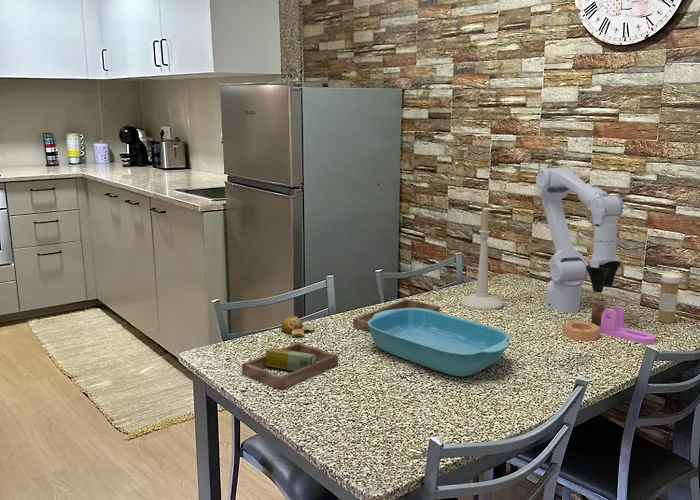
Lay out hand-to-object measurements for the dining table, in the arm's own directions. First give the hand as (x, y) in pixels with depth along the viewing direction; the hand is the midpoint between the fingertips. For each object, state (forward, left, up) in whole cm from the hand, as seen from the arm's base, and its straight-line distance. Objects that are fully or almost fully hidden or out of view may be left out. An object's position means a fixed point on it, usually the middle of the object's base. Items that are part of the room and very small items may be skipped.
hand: (602, 289), depth 175 cm
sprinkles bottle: (+13, +16, -10) cm, 23 cm away
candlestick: (-35, -3, -11) cm, 37 cm away
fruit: (-57, -57, -12) cm, 82 cm away
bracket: (+9, -4, -11) cm, 15 cm away
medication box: (-43, -77, -10) cm, 89 cm away
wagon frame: (-45, -33, -10) cm, 57 cm away
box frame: (-43, -77, -10) cm, 89 cm away
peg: (-1, +1, -10) cm, 10 cm away
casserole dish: (-23, -47, -11) cm, 54 cm away
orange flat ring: (-1, -11, -10) cm, 15 cm away
